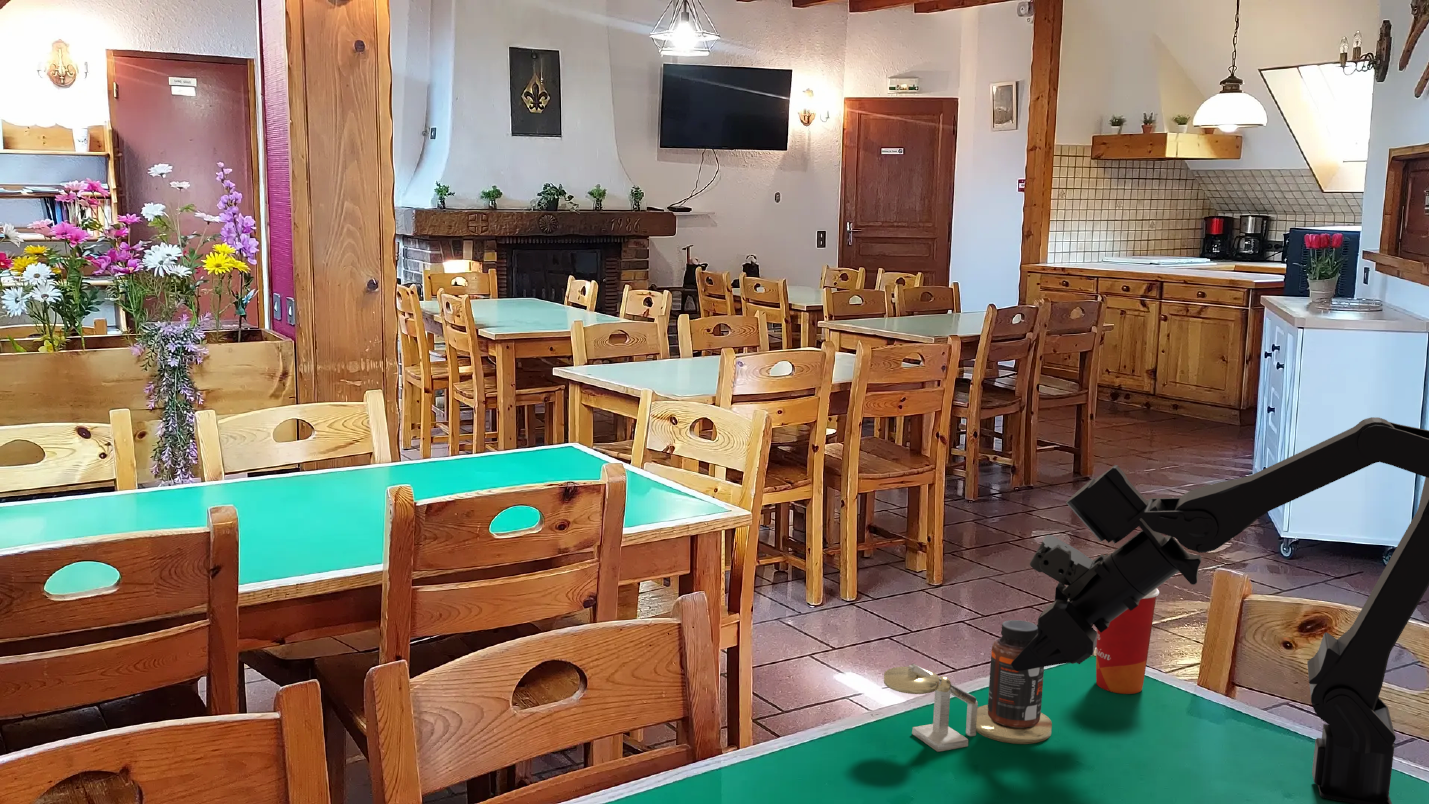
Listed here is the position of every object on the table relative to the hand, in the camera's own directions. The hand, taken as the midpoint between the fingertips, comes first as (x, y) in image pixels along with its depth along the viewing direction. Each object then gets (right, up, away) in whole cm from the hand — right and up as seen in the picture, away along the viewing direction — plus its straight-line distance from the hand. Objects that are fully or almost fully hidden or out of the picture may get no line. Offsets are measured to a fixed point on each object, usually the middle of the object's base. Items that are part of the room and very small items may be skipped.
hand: (1020, 654), depth 139 cm
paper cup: (+16, -7, +15) cm, 23 cm away
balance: (-6, -9, -1) cm, 11 cm away
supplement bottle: (-1, -8, +1) cm, 8 cm away
